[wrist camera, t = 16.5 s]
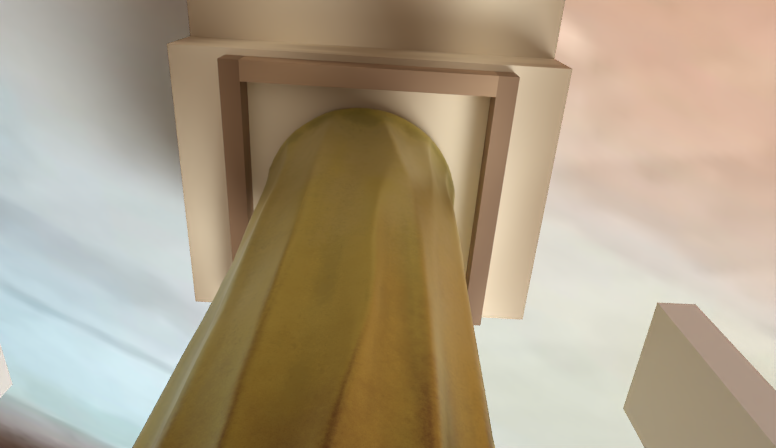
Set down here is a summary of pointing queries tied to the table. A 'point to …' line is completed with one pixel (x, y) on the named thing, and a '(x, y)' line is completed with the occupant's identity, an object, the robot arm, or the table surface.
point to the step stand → (381, 92)
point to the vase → (338, 307)
